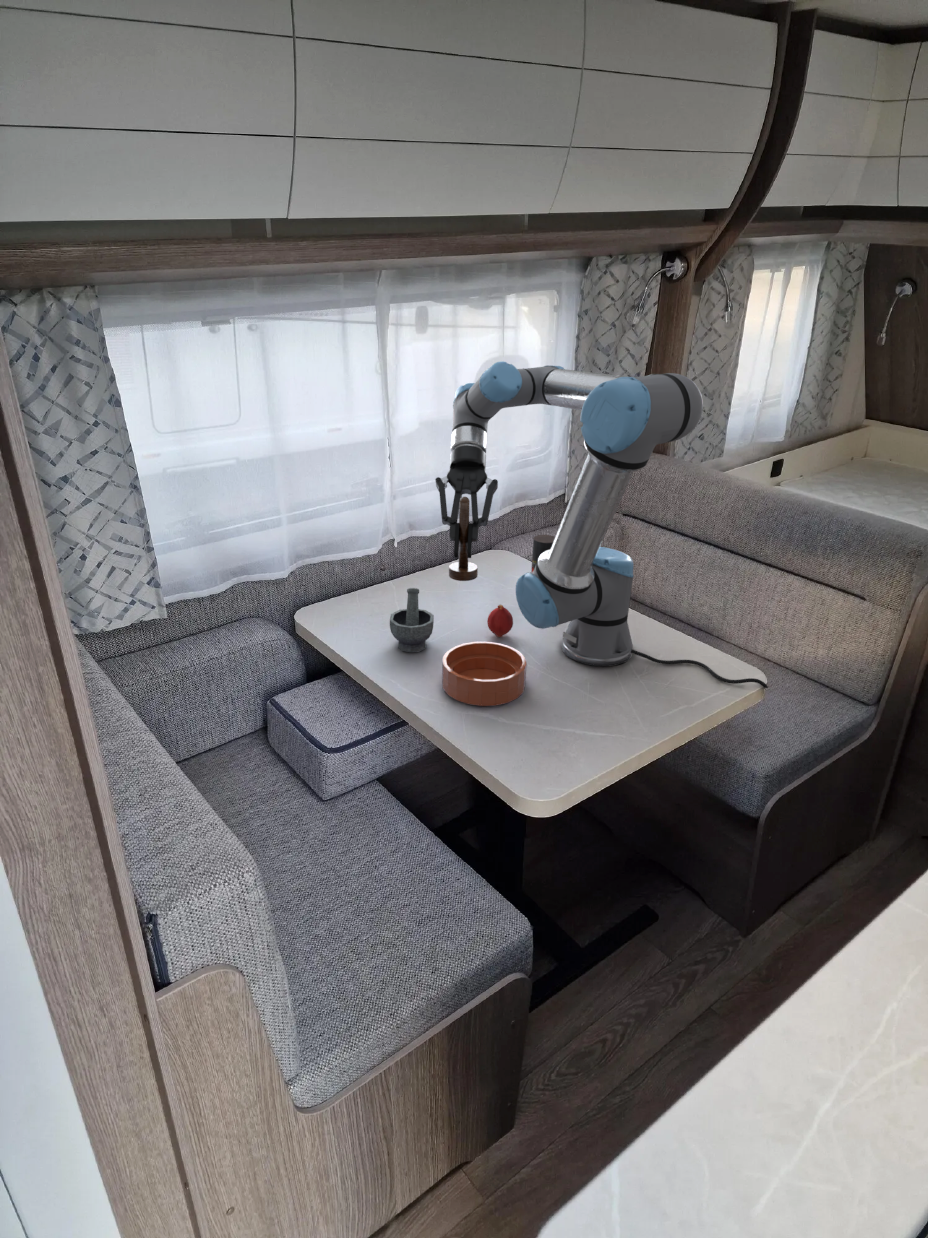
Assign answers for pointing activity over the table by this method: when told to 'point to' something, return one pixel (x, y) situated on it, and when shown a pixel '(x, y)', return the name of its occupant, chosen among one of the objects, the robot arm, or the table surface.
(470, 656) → the bowl
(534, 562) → the deodorant
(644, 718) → the table surface
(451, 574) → the wooden peg stand
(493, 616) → the onion
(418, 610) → the mortar and pestle
